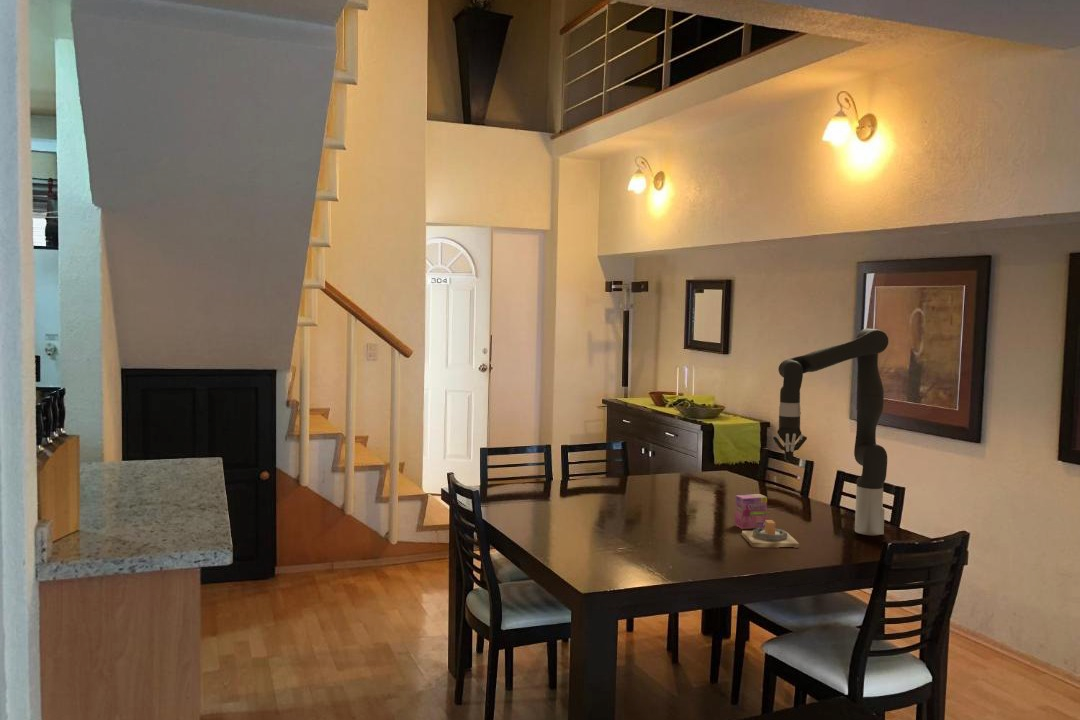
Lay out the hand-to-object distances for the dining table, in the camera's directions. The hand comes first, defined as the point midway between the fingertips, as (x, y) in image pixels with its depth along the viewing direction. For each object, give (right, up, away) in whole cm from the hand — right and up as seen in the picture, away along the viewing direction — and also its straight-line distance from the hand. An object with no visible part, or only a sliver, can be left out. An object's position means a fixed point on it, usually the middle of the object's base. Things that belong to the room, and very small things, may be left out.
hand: (788, 461), depth 316 cm
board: (-10, -27, -11) cm, 31 cm away
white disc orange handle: (-10, -25, -12) cm, 30 cm away
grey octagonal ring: (-10, -25, -12) cm, 30 cm away
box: (-12, -26, +8) cm, 30 cm away
